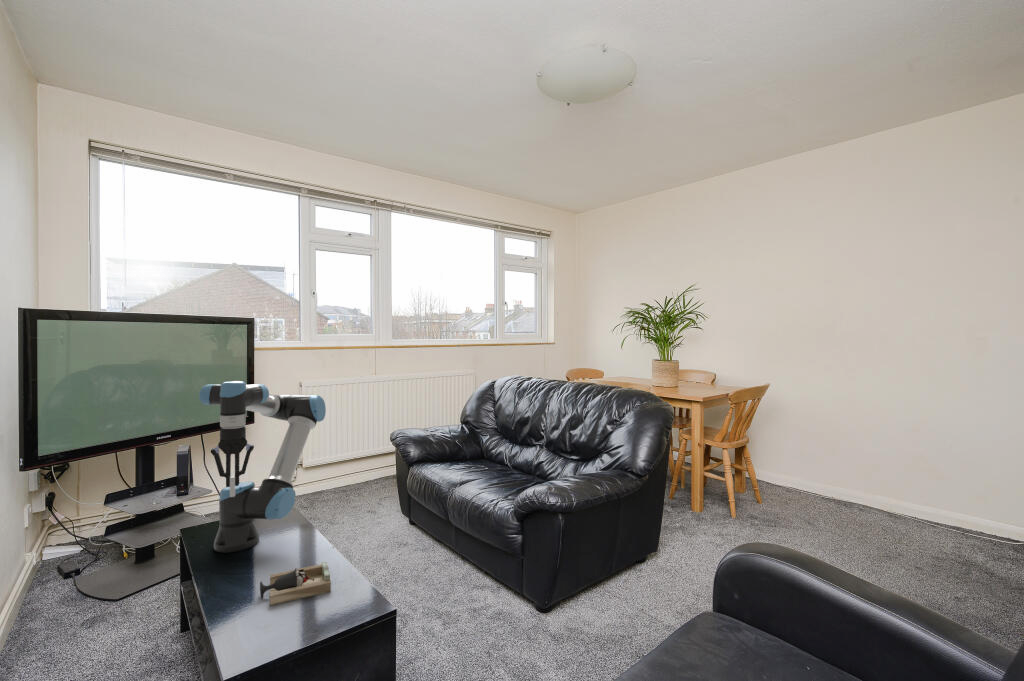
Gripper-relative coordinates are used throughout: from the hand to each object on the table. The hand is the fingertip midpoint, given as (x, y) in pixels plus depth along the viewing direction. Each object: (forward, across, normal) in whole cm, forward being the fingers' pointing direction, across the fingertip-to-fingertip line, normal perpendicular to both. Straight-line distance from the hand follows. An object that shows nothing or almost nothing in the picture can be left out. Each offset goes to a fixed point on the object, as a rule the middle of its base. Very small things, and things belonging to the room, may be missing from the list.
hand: (232, 495), depth 155 cm
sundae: (+24, +9, -22) cm, 34 cm away
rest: (+26, +20, -21) cm, 39 cm away
